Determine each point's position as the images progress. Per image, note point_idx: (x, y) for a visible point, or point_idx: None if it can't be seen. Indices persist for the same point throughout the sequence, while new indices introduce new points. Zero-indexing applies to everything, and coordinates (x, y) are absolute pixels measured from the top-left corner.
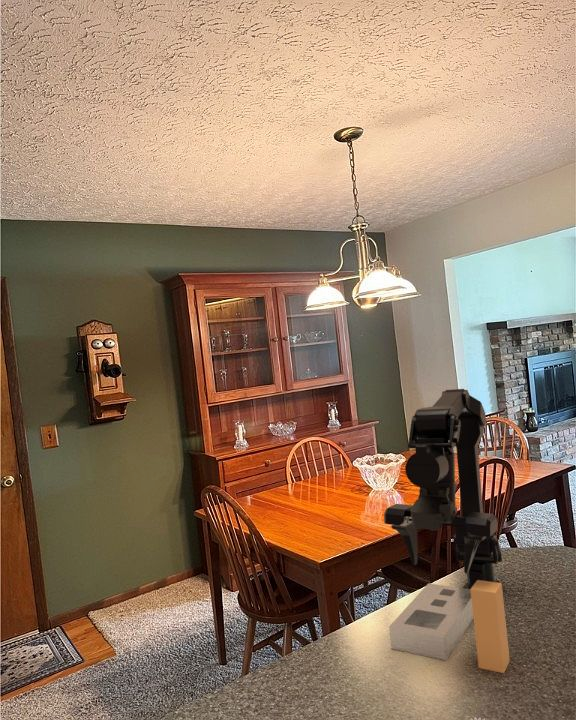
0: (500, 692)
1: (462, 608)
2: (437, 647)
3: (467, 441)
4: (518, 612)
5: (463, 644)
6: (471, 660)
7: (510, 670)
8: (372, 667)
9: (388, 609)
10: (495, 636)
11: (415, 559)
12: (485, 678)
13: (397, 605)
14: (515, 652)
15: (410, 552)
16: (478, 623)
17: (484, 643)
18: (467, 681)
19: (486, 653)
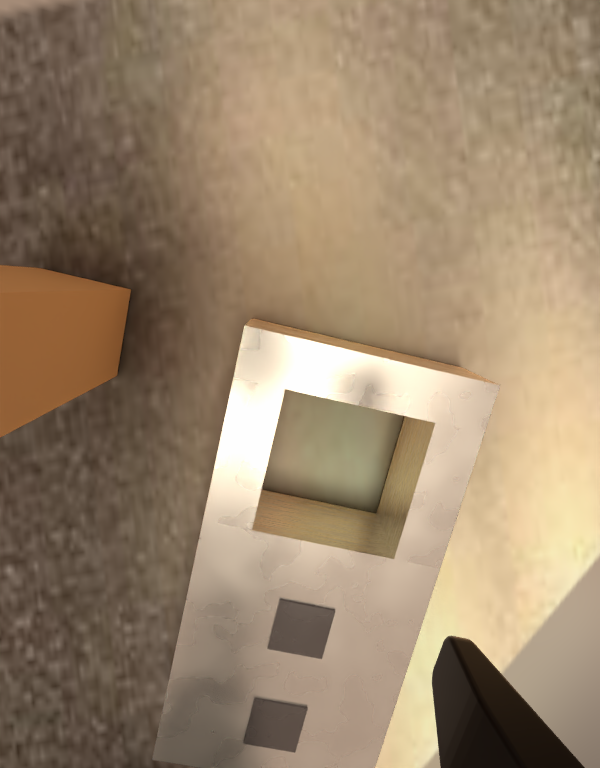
0: (41, 148)
1: (193, 594)
2: (278, 328)
3: None
4: (37, 693)
5: (204, 447)
6: (164, 343)
7: None
8: (517, 231)
9: (505, 651)
10: None
11: (456, 693)
12: (102, 231)
13: None
14: None
15: (552, 757)
16: (20, 284)
17: (52, 281)
18: (162, 199)
19: (68, 280)
